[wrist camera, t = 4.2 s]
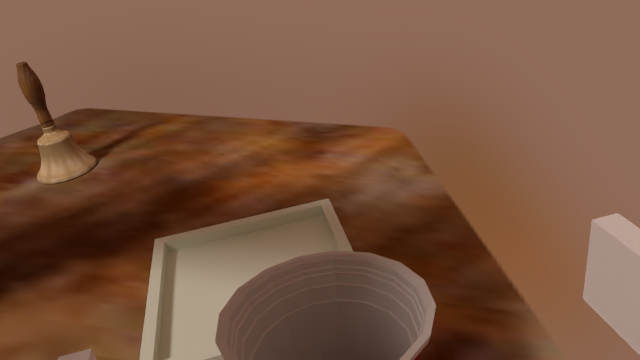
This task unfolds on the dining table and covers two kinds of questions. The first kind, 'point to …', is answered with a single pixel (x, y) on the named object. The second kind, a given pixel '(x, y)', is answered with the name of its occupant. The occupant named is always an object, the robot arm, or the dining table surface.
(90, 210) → the dining table surface
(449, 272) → the dining table surface
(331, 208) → the tray
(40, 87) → the hand bell
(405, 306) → the plastic cup
